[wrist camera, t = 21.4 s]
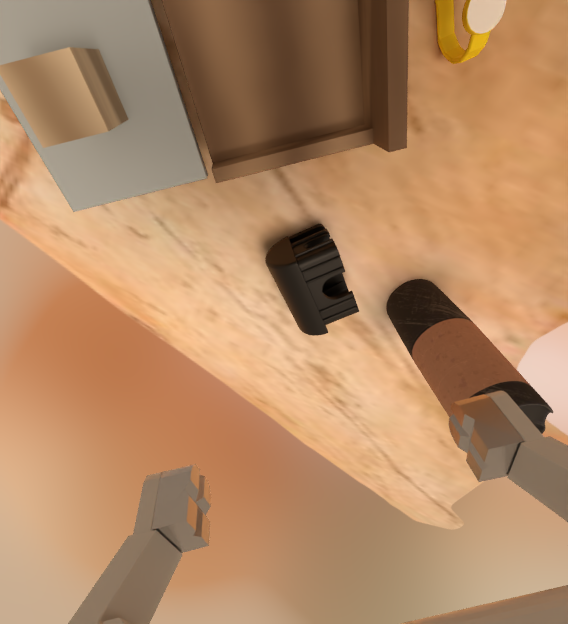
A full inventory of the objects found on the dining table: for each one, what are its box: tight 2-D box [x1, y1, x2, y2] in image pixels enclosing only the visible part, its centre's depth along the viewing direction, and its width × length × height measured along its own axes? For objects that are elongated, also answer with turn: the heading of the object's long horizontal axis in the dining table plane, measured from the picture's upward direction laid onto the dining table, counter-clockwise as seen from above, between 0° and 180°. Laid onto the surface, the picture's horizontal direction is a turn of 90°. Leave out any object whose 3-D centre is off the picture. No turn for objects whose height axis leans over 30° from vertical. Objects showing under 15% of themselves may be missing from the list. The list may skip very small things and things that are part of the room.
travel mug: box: [387, 279, 553, 434], centre depth 38 cm, size 8×8×20 cm
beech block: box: [0, 47, 129, 148], centre depth 21 cm, size 4×4×5 cm
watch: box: [435, 0, 506, 64], centre depth 26 cm, size 6×3×6 cm, turn 20°
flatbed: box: [162, 0, 409, 183], centre depth 23 cm, size 13×16×12 cm
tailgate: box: [0, 0, 208, 212], centre depth 24 cm, size 2×14×11 cm
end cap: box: [266, 224, 359, 335], centre depth 38 cm, size 10×7×7 cm
